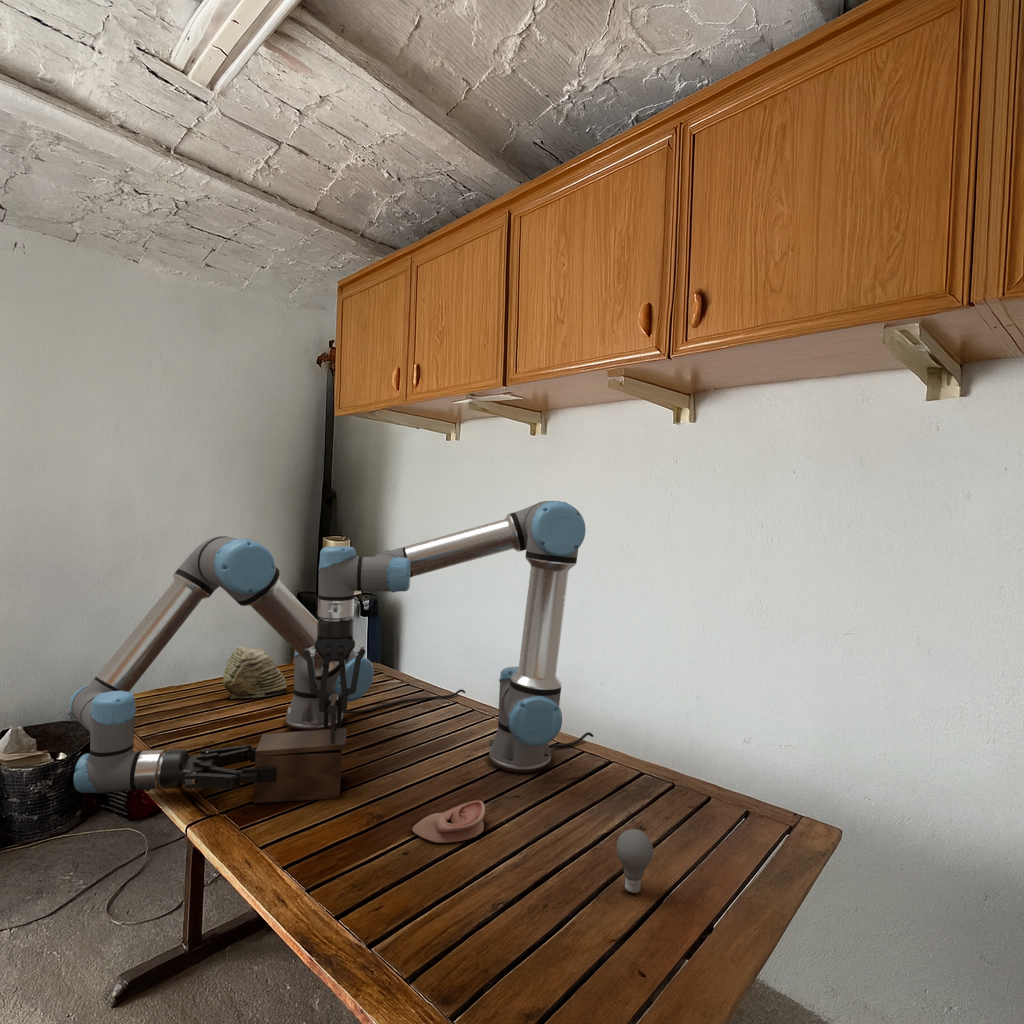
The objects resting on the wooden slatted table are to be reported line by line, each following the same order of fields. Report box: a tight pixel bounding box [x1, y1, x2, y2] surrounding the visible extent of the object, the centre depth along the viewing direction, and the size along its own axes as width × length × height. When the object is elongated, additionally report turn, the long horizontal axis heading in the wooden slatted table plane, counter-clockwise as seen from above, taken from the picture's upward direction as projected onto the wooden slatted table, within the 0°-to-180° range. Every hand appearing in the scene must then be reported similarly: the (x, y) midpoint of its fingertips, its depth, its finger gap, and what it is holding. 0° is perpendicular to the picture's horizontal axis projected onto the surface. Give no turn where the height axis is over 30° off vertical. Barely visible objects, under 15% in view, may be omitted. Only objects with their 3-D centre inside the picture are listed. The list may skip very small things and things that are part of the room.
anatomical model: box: [411, 800, 486, 844], centre depth 123 cm, size 13×4×12 cm
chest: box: [253, 749, 343, 804], centre depth 136 cm, size 17×9×10 cm, turn 103°
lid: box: [255, 694, 347, 756], centre depth 136 cm, size 18×9×9 cm, turn 103°
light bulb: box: [615, 828, 654, 894], centre depth 106 cm, size 6×6×10 cm
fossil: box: [222, 646, 288, 699], centre depth 198 cm, size 9×18×15 cm, turn 132°
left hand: (279, 763), depth 135 cm, fingers closed on chest, 9 cm apart
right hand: (332, 725), depth 137 cm, fingers closed on lid, 2 cm apart
